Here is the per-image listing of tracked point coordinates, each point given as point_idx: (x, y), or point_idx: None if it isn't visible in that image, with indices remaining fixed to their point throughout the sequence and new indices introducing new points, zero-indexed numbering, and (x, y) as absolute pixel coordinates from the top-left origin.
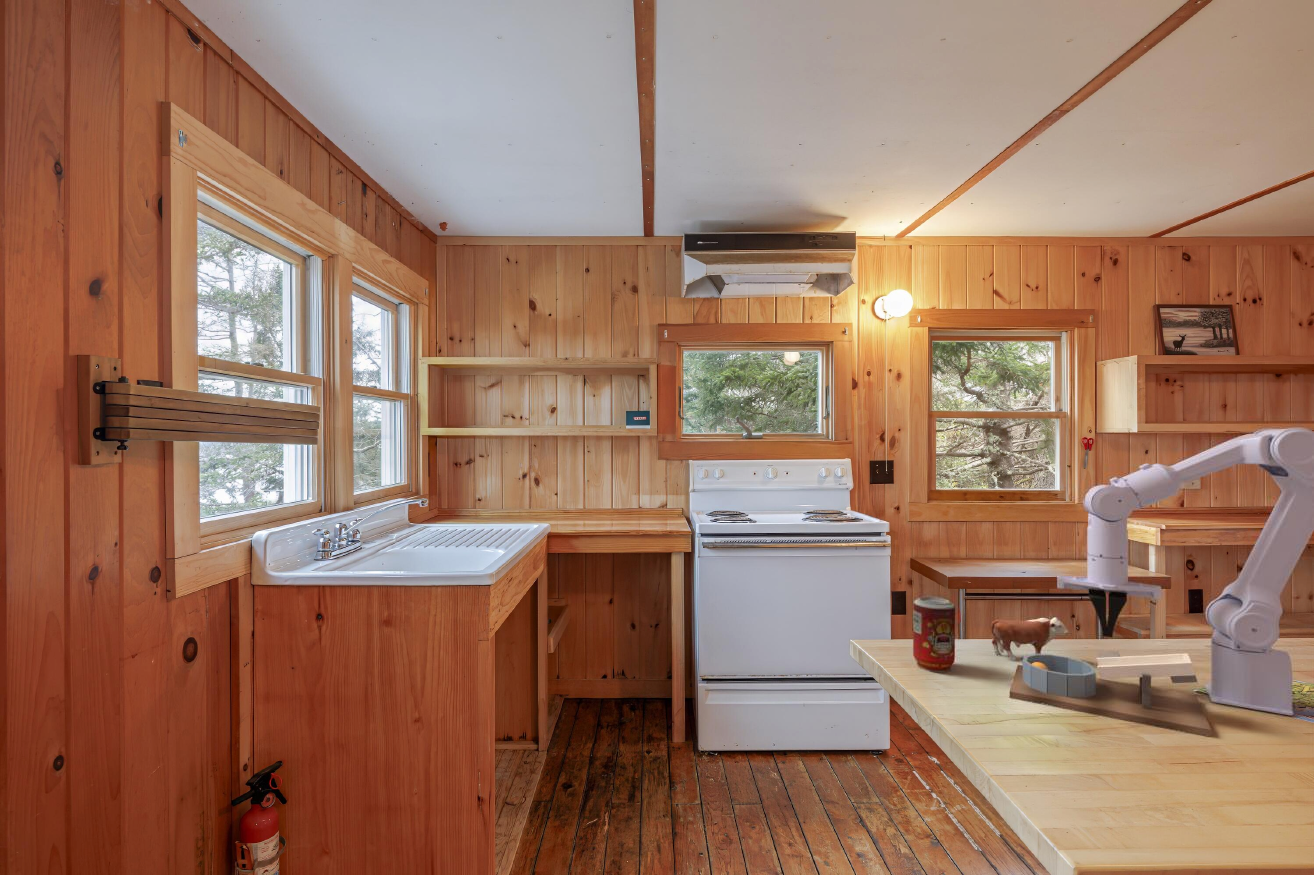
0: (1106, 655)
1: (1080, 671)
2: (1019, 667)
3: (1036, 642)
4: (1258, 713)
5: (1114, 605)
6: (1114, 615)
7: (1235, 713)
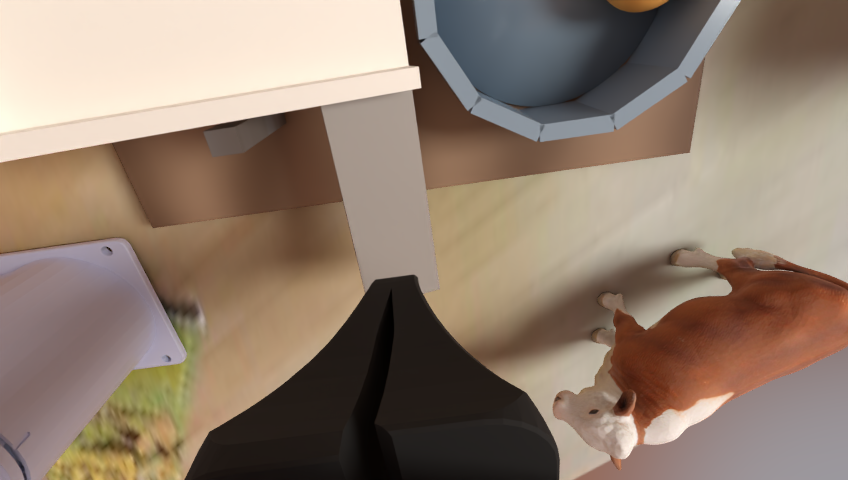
0: (402, 246)
1: (480, 94)
2: (686, 120)
3: (643, 330)
4: (16, 232)
5: (312, 401)
6: (337, 352)
7: (52, 185)
